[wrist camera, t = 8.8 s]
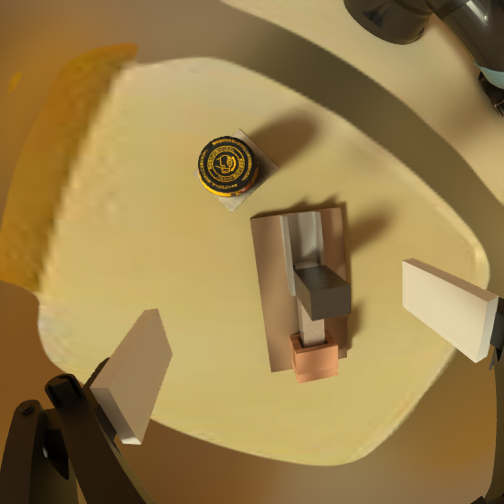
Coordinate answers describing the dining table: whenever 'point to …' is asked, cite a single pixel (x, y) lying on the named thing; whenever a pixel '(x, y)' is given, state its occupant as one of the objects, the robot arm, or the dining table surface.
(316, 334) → the mallet
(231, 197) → the condiment
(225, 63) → the dining table surface
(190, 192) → the dining table surface
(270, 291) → the rail slide board
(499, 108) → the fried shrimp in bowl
